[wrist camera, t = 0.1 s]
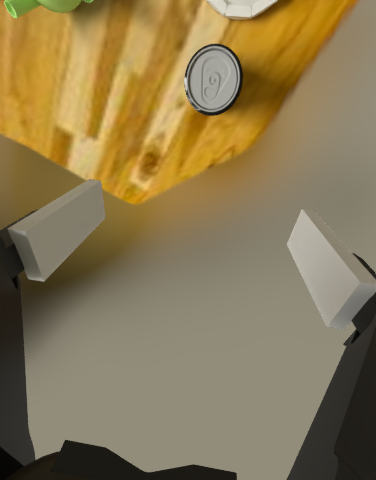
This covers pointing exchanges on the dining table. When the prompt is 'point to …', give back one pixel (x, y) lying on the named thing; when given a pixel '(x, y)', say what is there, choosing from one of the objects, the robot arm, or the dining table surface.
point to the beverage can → (213, 79)
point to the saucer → (240, 8)
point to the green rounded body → (21, 3)
